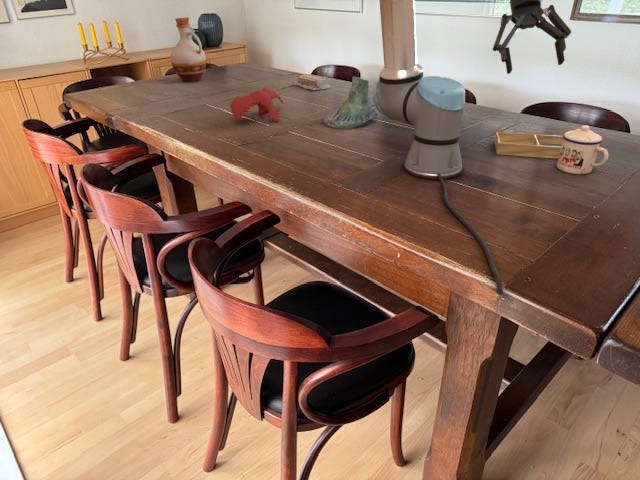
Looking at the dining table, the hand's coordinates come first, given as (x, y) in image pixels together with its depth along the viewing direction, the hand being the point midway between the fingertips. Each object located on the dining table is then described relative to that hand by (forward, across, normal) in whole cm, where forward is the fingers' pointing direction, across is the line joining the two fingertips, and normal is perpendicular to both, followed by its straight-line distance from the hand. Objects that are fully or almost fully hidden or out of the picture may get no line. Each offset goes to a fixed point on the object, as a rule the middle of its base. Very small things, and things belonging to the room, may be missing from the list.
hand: (535, 67), depth 125 cm
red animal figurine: (-10, +87, -30) cm, 92 cm away
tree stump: (-5, +55, -32) cm, 64 cm away
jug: (-60, +137, -86) cm, 173 cm away
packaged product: (-42, +74, -80) cm, 117 cm away
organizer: (+20, 0, -12) cm, 24 cm away
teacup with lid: (+30, -7, 0) cm, 31 cm away
